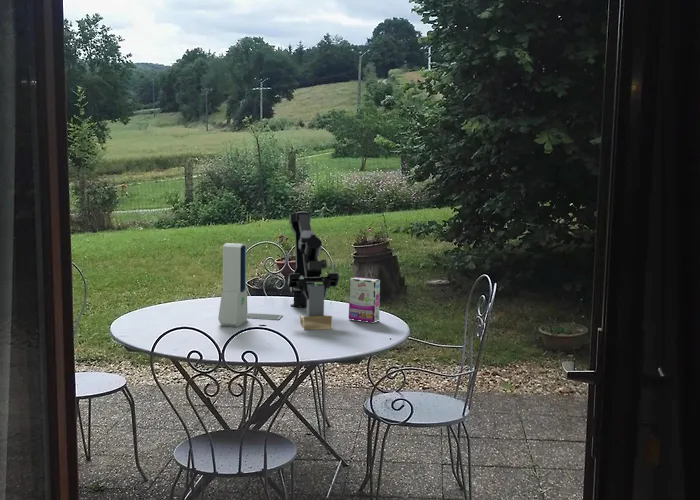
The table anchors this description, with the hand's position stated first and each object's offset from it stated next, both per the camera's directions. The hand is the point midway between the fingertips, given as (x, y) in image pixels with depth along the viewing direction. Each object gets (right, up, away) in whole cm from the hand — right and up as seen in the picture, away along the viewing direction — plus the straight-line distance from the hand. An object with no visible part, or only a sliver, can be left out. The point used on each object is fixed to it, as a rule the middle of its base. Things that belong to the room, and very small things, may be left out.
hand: (315, 298), depth 277 cm
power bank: (0, -7, +2) cm, 7 cm away
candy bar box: (+18, -9, +12) cm, 24 cm away
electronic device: (-31, -9, +3) cm, 33 cm away
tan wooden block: (0, -10, +2) cm, 10 cm away
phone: (-21, -9, +14) cm, 27 cm away
